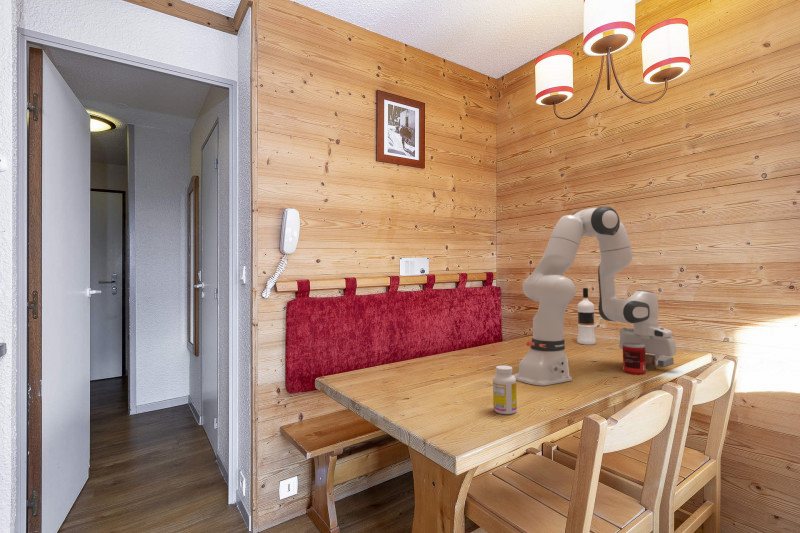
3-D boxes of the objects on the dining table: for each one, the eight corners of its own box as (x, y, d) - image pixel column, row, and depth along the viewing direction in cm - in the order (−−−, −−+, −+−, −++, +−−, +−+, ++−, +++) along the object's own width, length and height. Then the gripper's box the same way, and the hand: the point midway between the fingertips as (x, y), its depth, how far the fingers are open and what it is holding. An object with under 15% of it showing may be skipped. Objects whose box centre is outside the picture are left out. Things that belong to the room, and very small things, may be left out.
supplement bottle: (512, 406, 120) (512, 364, 120) (520, 414, 113) (519, 369, 113) (490, 407, 120) (490, 364, 120) (496, 415, 113) (496, 370, 113)
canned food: (639, 369, 160) (638, 342, 160) (649, 375, 152) (649, 346, 152) (619, 369, 161) (618, 342, 161) (628, 374, 153) (628, 346, 153)
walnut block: (650, 369, 159) (650, 357, 159) (637, 367, 163) (637, 355, 163) (655, 367, 162) (655, 355, 162) (642, 365, 166) (642, 353, 166)
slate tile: (663, 367, 163) (663, 361, 163) (637, 362, 171) (637, 356, 171) (673, 363, 169) (673, 357, 169) (647, 359, 177) (647, 353, 177)
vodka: (574, 341, 219) (573, 287, 219) (591, 341, 218) (591, 287, 219) (580, 345, 210) (579, 288, 210) (598, 345, 209) (597, 288, 209)
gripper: (616, 327, 169) (616, 360, 169) (670, 333, 153) (671, 369, 153) (623, 326, 173) (623, 358, 173) (677, 332, 156) (677, 367, 156)
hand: (646, 363), depth 163 cm, fingers closed on walnut block, 5 cm apart
